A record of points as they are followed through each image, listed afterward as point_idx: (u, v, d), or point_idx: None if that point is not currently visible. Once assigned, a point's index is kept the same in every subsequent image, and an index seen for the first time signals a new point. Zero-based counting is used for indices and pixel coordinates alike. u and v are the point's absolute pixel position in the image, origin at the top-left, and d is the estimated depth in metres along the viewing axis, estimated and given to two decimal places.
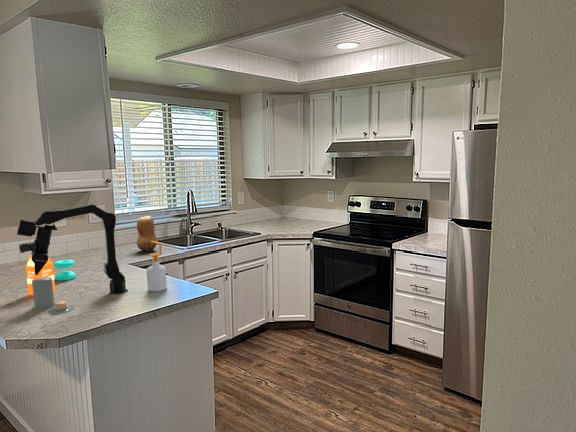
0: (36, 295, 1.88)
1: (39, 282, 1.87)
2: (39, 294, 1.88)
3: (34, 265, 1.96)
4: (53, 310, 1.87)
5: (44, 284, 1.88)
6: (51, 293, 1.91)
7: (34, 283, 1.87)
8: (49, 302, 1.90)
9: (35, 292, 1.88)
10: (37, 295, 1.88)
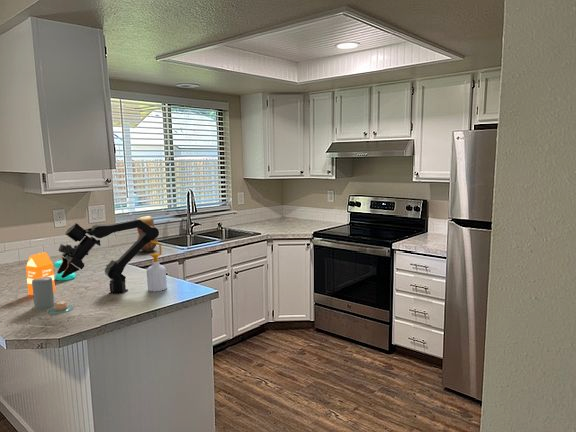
0: (36, 295, 1.88)
1: (39, 282, 1.87)
2: (39, 294, 1.88)
3: (59, 268, 1.99)
4: (53, 310, 1.87)
5: (44, 284, 1.88)
6: (51, 293, 1.91)
7: (34, 283, 1.87)
8: (49, 302, 1.90)
9: (35, 292, 1.88)
10: (37, 295, 1.88)
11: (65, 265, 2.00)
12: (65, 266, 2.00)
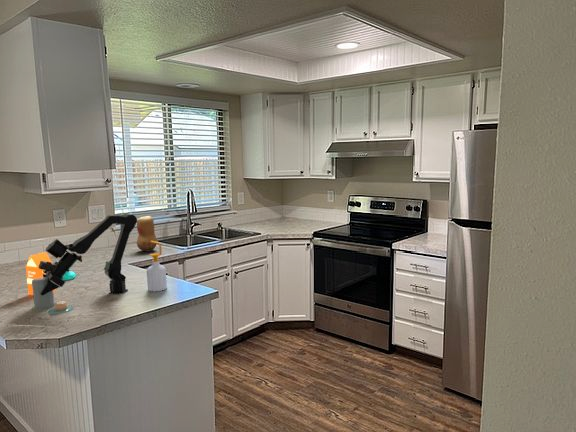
0: (36, 295, 1.88)
1: (39, 282, 1.87)
2: (39, 294, 1.88)
3: None
4: (53, 310, 1.87)
5: (44, 284, 1.88)
6: (51, 293, 1.91)
7: (34, 283, 1.87)
8: (49, 302, 1.90)
9: (35, 292, 1.88)
10: (37, 295, 1.88)
11: None
12: None
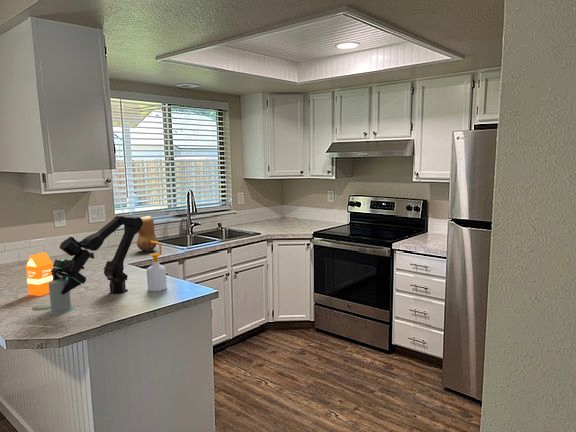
0: (56, 298, 1.83)
1: (59, 284, 1.83)
2: (59, 296, 1.83)
3: None
4: None
5: (64, 286, 1.84)
6: (69, 295, 1.88)
7: (53, 286, 1.82)
8: (68, 304, 1.87)
9: (55, 295, 1.83)
10: (57, 298, 1.83)
11: None
12: None
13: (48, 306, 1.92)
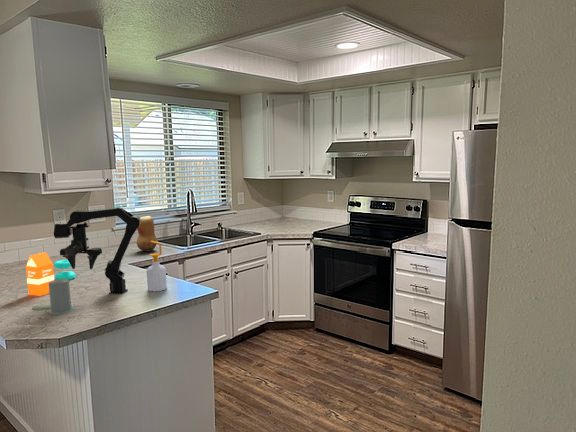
0: (56, 298, 1.83)
1: (59, 284, 1.83)
2: (59, 296, 1.83)
3: (72, 264, 2.06)
4: None
5: (64, 286, 1.84)
6: (69, 295, 1.88)
7: (53, 286, 1.82)
8: (68, 304, 1.87)
9: (54, 295, 1.83)
10: (57, 298, 1.83)
11: (72, 259, 2.07)
12: (73, 259, 2.07)
13: (48, 306, 1.92)
